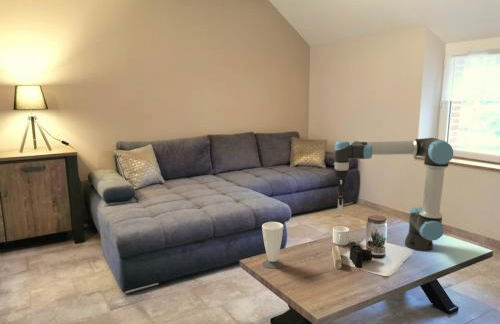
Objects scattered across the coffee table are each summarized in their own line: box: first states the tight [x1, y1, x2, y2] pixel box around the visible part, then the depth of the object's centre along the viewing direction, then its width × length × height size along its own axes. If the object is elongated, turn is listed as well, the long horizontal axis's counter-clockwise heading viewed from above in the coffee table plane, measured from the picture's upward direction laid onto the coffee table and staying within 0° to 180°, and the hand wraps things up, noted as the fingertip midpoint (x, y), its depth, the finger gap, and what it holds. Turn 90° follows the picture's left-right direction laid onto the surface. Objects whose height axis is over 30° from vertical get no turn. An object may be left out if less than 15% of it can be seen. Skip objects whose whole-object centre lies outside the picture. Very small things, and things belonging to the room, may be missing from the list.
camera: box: [349, 241, 373, 269], centre depth 199 cm, size 14×11×10 cm
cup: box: [261, 221, 284, 269], centre depth 197 cm, size 12×12×22 cm
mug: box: [332, 225, 351, 247], centre depth 223 cm, size 12×10×9 cm
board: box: [331, 245, 342, 270], centre depth 201 cm, size 3×18×5 cm, turn 172°
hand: (340, 206), depth 208 cm, fingers open, 13 cm apart
